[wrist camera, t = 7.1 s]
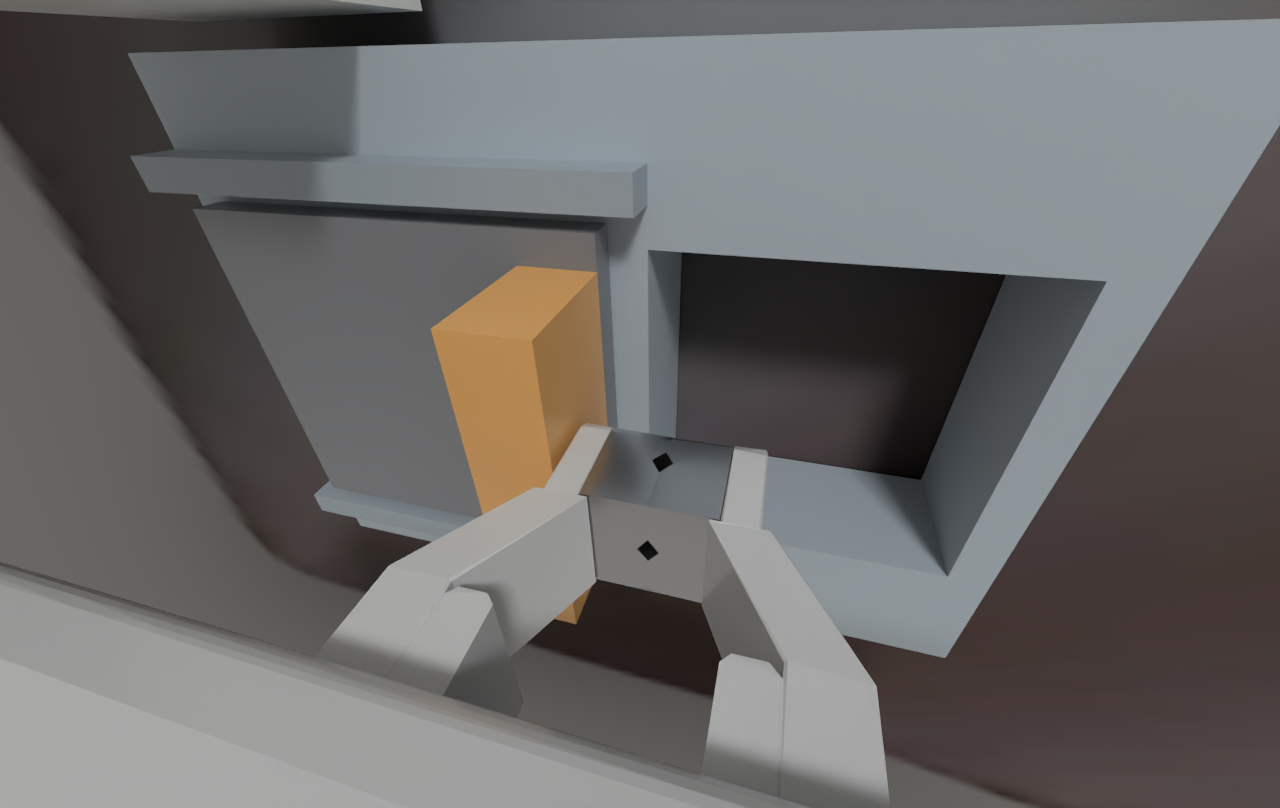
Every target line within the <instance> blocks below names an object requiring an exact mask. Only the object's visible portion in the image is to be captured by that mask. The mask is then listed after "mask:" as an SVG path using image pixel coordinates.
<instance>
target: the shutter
mask: <svg viewBox="0 0 1280 808" xmlns="http://www.w3.org/2000/svg"><path fill="white" fill-rule="evenodd" d="M193 211H194V213H195V215H196V217H197V219H198V221H199V223H200V225H201V227H202V229H203V231H204V233H205V235H206V237H207V239H208V241H209V243H210V245H211V247H212V249H213V251H214V253H215V255H216V257H217V259H218V261H219V263H220V265H221V267H222V269H223V271H224V273H225V275H226V277H227V278H228V280H229V282H230V284H231V286H232V288H233V290H234V292H235V294H236V296H237V298H238V300H239V302H240V304H241V306H242V308H243V310H244V312H245V314H246V316H247V318H248V320H249V322H250V324H251V326H252V328H253V330H254V332H255V334H256V336H257V338H258V340H259V342H260V344H261V346H262V348H263V350H264V352H265V354H266V356H267V358H268V360H269V362H270V363H271V365H272V367H273V369H274V371H275V373H276V375H277V377H278V379H279V381H280V383H281V385H282V387H283V389H284V391H285V393H286V395H287V397H288V399H289V401H290V403H291V405H292V407H293V409H294V411H295V413H296V415H297V417H298V419H299V421H300V423H301V425H302V427H303V429H304V431H305V433H306V435H307V437H308V439H309V441H310V443H311V445H312V447H313V449H314V450H315V452H316V454H317V456H318V458H319V460H320V462H321V464H322V466H323V468H324V470H325V472H326V474H327V476H328V478H329V480H330V482H331V484H332V486H333V487H334V488H339V489H344V490H349V491H354V492H358V493H363V494H368V495H373V496H377V497H382V498H387V499H392V500H397V501H401V502H406V503H411V504H416V505H420V506H425V507H430V508H435V509H440V510H444V511H449V512H454V513H459V514H463V515H468V516H473V517H480V516H481V515H483V514H485V513H487V512H489V511H491V510H493V509H494V508H496V507H498V506H500V505H502V504H504V503H506V502H507V501H509V500H511V499H513V498H515V497H517V496H518V495H520V494H522V493H524V492H526V491H528V490H530V489H531V488H533V487H538V488H544V486H545V484H546V483H547V481H548V479H549V478H550V476H551V475H552V473H553V471H554V470H555V468H556V466H557V465H558V463H559V461H560V460H561V458H562V456H563V455H564V453H565V451H566V450H567V448H568V446H569V445H570V443H571V441H572V440H573V438H574V436H575V435H576V433H577V431H578V430H579V428H580V427H581V426H583V425H584V424H586V423H590V424H595V425H601V426H607V427H612V428H618V423H617V404H616V385H615V365H614V346H613V327H612V308H611V289H610V270H609V251H608V232H607V223H592V222H575V221H557V220H540V219H522V218H505V217H487V216H470V215H453V214H435V213H418V212H400V211H383V210H365V209H348V208H331V207H313V206H296V205H278V204H261V203H244V202H226V201H221V202H217V203H213V204H209V205H205V206H201V207H197V208H193ZM590 589H591V587H590V588H589V589H588V590H586V591H585V592H584V593H583V594H582V595H581V596H580V597H578V598H577V599H576V600H575V601H574V602H573V603H572V604H570V605H569V606H568V607H567V608H566V609H565V610H564V611H562V612H561V613H560V614H559V615H558V616H557V617H556V618H555V619H557V620H561V621H565V622H569V623H573V624H577V621H578V619H579V616H580V614H581V611H582V609H583V606H584V604H585V601H586V599H587V596H588V594H589V591H590Z"/></svg>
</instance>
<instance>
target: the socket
mask: <svg viewBox="0 0 1280 808" xmlns="http://www.w3.org/2000/svg"><path fill="white" fill-rule="evenodd" d="M128 55H129V57H130V59H131V61H132V63H133V65H134V67H135V69H136V72H137V74H138V76H139V78H140V80H141V82H142V84H143V86H144V88H145V90H146V92H147V94H148V96H149V98H150V100H151V102H152V104H153V106H154V108H155V110H156V112H157V114H158V116H159V118H160V120H161V122H162V124H163V126H164V128H165V130H166V132H167V134H168V136H169V138H170V141H171V143H172V145H173V147H174V150H168V151H161V152H154V153H147V154H140V155H134V156H130V157H131V159H132V161H133V163H134V165H135V166H136V168H137V170H138V172H139V174H140V176H141V177H142V179H143V181H144V183H145V185H146V187H147V189H148V190H149V192H159V193H178V194H196V195H198V197H199V199H200V201H201V203H202V205H203V206H205V205H209V204H213V203H217V202H221V201H226V202H244V203H261V204H278V205H296V206H313V207H331V208H348V209H365V210H383V211H400V212H418V213H435V214H453V215H470V216H487V217H505V218H522V219H540V220H557V221H575V222H592V223H607V232H608V251H609V270H610V289H611V308H612V327H613V346H614V365H615V385H616V404H617V423H618V428H621V429H627V430H632V431H638V432H644V433H649V434H655V435H661V436H666V437H672V438H676V414H677V383H678V351H679V319H680V288H681V256H682V252H686V253H701V254H715V255H730V256H744V257H759V258H773V259H788V260H803V261H817V262H832V263H846V264H861V265H875V266H890V267H905V268H919V269H934V270H948V271H963V272H978V273H992V274H1006V276H1005V279H1004V281H1003V284H1002V286H1001V288H1000V291H999V293H998V296H997V298H996V300H995V303H994V305H993V308H992V310H991V312H990V315H989V317H988V320H987V322H986V324H985V327H984V329H983V332H982V334H981V337H980V339H979V341H978V344H977V346H976V349H975V351H974V353H973V356H972V358H971V361H970V363H969V365H968V368H967V370H966V373H965V375H964V377H963V380H962V382H961V385H960V387H959V389H958V392H957V394H956V397H955V399H954V401H953V404H952V406H951V409H950V411H949V414H948V416H947V418H946V421H945V423H944V426H943V428H942V430H941V433H940V435H939V438H938V440H937V442H936V445H935V447H934V450H933V452H932V454H931V457H930V459H929V462H928V464H927V466H926V469H925V471H924V474H923V476H922V479H921V480H918V479H911V478H905V477H899V476H892V475H886V474H879V473H873V472H866V471H860V470H854V469H847V468H841V467H834V466H828V465H821V464H815V463H809V462H802V461H796V460H789V459H783V458H776V457H770V456H768V462H767V474H766V485H765V496H764V507H763V519H762V530H767V531H772V532H773V534H774V535H775V537H776V538H777V540H778V541H779V543H780V544H781V545H782V547H783V548H784V550H785V551H786V553H787V554H788V556H789V557H790V559H791V560H792V562H793V563H794V565H795V566H796V568H797V569H798V571H799V572H800V574H801V575H802V577H803V578H804V580H805V581H806V583H807V584H808V585H809V587H810V588H811V590H812V591H813V593H814V594H815V596H816V597H817V599H818V600H819V602H820V603H821V605H822V606H823V608H824V609H825V611H826V612H827V614H828V615H829V617H830V618H831V620H832V621H833V623H834V624H835V626H836V627H837V628H838V630H839V631H840V633H841V634H842V635H846V636H850V637H855V638H859V639H864V640H868V641H872V642H877V643H881V644H886V645H890V646H894V647H899V648H903V649H908V650H912V651H916V652H921V653H925V654H930V655H934V656H939V657H943V658H946V656H947V654H948V653H949V651H950V650H951V648H952V646H953V645H954V643H955V642H956V640H957V638H958V637H959V635H960V634H961V632H962V630H963V629H964V627H965V626H966V624H967V623H968V621H969V619H970V618H971V616H972V615H973V613H974V611H975V610H976V608H977V607H978V605H979V603H980V602H981V600H982V599H983V597H984V595H985V594H986V592H987V591H988V589H989V587H990V586H991V584H992V583H993V581H994V579H995V578H996V576H997V575H998V573H999V572H1000V570H1001V568H1002V567H1003V565H1004V564H1005V562H1006V560H1007V559H1008V557H1009V556H1010V554H1011V552H1012V551H1013V549H1014V548H1015V546H1016V544H1017V543H1018V541H1019V540H1020V538H1021V536H1022V535H1023V533H1024V532H1025V530H1026V528H1027V527H1028V525H1029V524H1030V522H1031V521H1032V519H1033V517H1034V516H1035V514H1036V513H1037V511H1038V509H1039V508H1040V506H1041V505H1042V503H1043V501H1044V500H1045V498H1046V497H1047V495H1048V493H1049V492H1050V490H1051V489H1052V487H1053V485H1054V484H1055V482H1056V481H1057V479H1058V477H1059V476H1060V474H1061V473H1062V471H1063V470H1064V468H1065V466H1066V465H1067V463H1068V462H1069V460H1070V458H1071V457H1072V455H1073V454H1074V452H1075V450H1076V449H1077V447H1078V446H1079V444H1080V442H1081V441H1082V439H1083V438H1084V436H1085V434H1086V433H1087V431H1088V430H1089V428H1090V426H1091V425H1092V423H1093V422H1094V420H1095V419H1096V417H1097V415H1098V414H1099V412H1100V411H1101V409H1102V407H1103V406H1104V404H1105V403H1106V401H1107V399H1108V398H1109V396H1110V395H1111V393H1112V391H1113V390H1114V388H1115V387H1116V385H1117V383H1118V382H1119V380H1120V379H1121V377H1122V375H1123V374H1124V372H1125V371H1126V369H1127V368H1128V366H1129V364H1130V363H1131V361H1132V360H1133V358H1134V356H1135V355H1136V353H1137V352H1138V350H1139V348H1140V347H1141V345H1142V344H1143V342H1144V340H1145V339H1146V337H1147V336H1148V334H1149V332H1150V331H1151V329H1152V328H1153V326H1154V324H1155V323H1156V321H1157V320H1158V318H1159V317H1160V315H1161V313H1162V312H1163V310H1164V309H1165V307H1166V305H1167V304H1168V302H1169V301H1170V299H1171V297H1172V296H1173V294H1174V293H1175V291H1176V289H1177V288H1178V286H1179V285H1180V283H1181V281H1182V280H1183V278H1184V277H1185V275H1186V273H1187V272H1188V270H1189V269H1190V267H1191V266H1192V264H1193V262H1194V261H1195V259H1196V258H1197V256H1198V254H1199V253H1200V251H1201V250H1202V248H1203V246H1204V245H1205V243H1206V242H1207V240H1208V238H1209V237H1210V235H1211V234H1212V232H1213V230H1214V229H1215V227H1216V226H1217V224H1218V222H1219V221H1220V219H1221V218H1222V216H1223V215H1224V213H1225V211H1226V210H1227V208H1228V207H1229V205H1230V203H1231V202H1232V200H1233V199H1234V197H1235V195H1236V194H1237V192H1238V191H1239V189H1240V187H1241V186H1242V184H1243V183H1244V181H1245V179H1246V178H1247V176H1248V175H1249V173H1250V171H1251V170H1252V168H1253V167H1254V165H1255V164H1256V162H1257V160H1258V159H1259V157H1260V156H1261V154H1262V152H1263V151H1264V149H1265V148H1266V146H1267V144H1268V143H1269V141H1270V140H1271V138H1272V136H1273V135H1274V133H1275V132H1276V130H1277V128H1278V127H1279V125H1280V19H1256V20H1222V21H1189V22H1155V23H1122V24H1088V25H1055V26H1021V27H988V28H954V29H921V30H887V31H853V32H820V33H786V34H753V35H719V36H686V37H652V38H619V39H585V40H552V41H518V42H485V43H451V44H418V45H384V46H351V47H317V48H283V49H250V50H216V51H183V52H149V53H128ZM314 496H315V498H316V500H317V502H318V504H319V505H320V507H321V509H322V510H323V511H328V512H332V513H337V514H341V515H346V516H350V517H355V518H357V520H358V522H359V524H360V526H365V527H369V528H374V529H378V530H382V531H387V532H391V533H396V534H400V535H405V536H409V537H413V538H418V539H422V540H427V541H431V542H433V541H435V540H437V539H439V538H441V537H443V536H444V535H446V534H448V533H450V532H452V531H454V530H456V529H457V528H459V527H461V526H463V525H465V524H467V523H469V522H470V521H472V520H474V519H476V518H478V517H473V516H468V515H463V514H459V513H454V512H449V511H444V510H440V509H435V508H430V507H425V506H420V505H416V504H411V503H406V502H401V501H397V500H392V499H387V498H382V497H377V496H373V495H368V494H363V493H358V492H354V491H349V490H344V489H339V488H334V487H333V486H332V484H331V482H330V481H329V482H328V483H327V484H325V485H324V486H323V487H322V488H321V489H320V490H319V491H318V492H317V493H315V494H314ZM599 580H601V579H599ZM603 581H606V580H603ZM608 582H611V581H608ZM612 583H616V582H612ZM616 584H621V583H616ZM621 585H625V586H630V587H634V588H638V589H643V590H647V591H652V592H656V593H661V594H665V595H669V596H674V595H671V594H667V593H663V592H659V591H655V590H651V589H647V588H641V587H636V586H631V585H626V584H621ZM674 597H678V596H674ZM678 598H682V597H678ZM683 599H686V598H683ZM687 600H690V599H687ZM691 601H694V600H691ZM696 602H698V601H696ZM700 603H702V602H700Z"/></svg>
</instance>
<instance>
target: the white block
mask: <svg viewBox="0 0 1280 808" xmlns="http://www.w3.org/2000/svg"><path fill="white" fill-rule="evenodd" d="M0 10H1V11H18V12H36V13H53V14H71V15H88V16H106V17H123V18H141V19H158V20H176V21H193V22H199V21H221V20H242V19H263V18H284V17H306V16H327V15H348V14H369V13H391V12H412V11H422V7H421V2H420V0H0Z"/></svg>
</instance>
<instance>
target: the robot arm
mask: <svg viewBox="0 0 1280 808" xmlns="http://www.w3.org/2000/svg"><path fill="white" fill-rule="evenodd" d="M767 462H768V453H767V451H766V450H761V449H753V448H745V447H738V446H735V448H734V447H731V446H725V445H718V444H711V443H704V442H698V441H691V440H684V439H677V438H672V437H666V436H661V435H655V434H649V433H644V432H638V431H632V430H627V429H621V428H612V427H607V426H601V425H595V424H590V423H586V424H584V425H583V426H581V427H580V428H579V430H578V431H577V433H576V435H575V436H574V438H573V440H572V441H571V443H570V445H569V446H568V448H567V450H566V451H565V453H564V455H563V456H562V458H561V460H560V461H559V463H558V465H557V466H556V468H555V470H554V471H553V473H552V475H551V476H550V478H549V479H548V481H547V483H546V484H545V486H544V488H538V487H533V488H531V489H530V490H528V491H526V492H524V493H522V494H520V495H518V496H517V497H515V498H513V499H511V500H509V501H507V502H506V503H504V504H502V505H500V506H498V507H496V508H494V509H493V510H491V511H489V512H487V513H485V514H483V515H481V516H480V517H478V518H476V519H474V520H472V521H470V522H469V523H467V524H465V525H463V526H461V527H459V528H457V529H456V530H454V531H452V532H450V533H448V534H446V535H444V536H443V537H441V538H439V539H437V540H435V541H433V542H432V543H430V544H428V545H426V546H424V547H422V548H420V549H419V550H417V551H415V552H413V553H411V554H409V555H407V556H406V557H404V558H402V559H400V560H398V561H396V562H395V563H393V564H391V565H389V566H388V567H387V568H386V570H385V571H384V572H383V573H382V574H381V576H380V577H379V578H378V579H377V581H376V582H375V583H374V584H373V585H372V587H371V588H370V589H369V590H368V592H367V593H366V594H365V595H364V596H363V598H362V599H361V600H360V601H359V603H358V604H357V605H356V606H355V608H354V609H353V610H352V611H351V613H350V614H349V615H348V616H347V617H346V619H345V620H344V621H343V622H342V624H341V625H340V626H339V627H338V628H337V630H336V631H335V632H334V633H333V635H332V636H331V637H330V638H329V639H328V641H327V642H326V643H325V645H324V646H323V647H322V648H321V649H320V650H319V652H318V653H317V654H316V655H315V656H311V655H308V654H305V653H301V652H298V651H295V650H291V649H288V648H285V647H281V646H278V645H275V644H272V643H268V642H265V641H261V640H258V639H255V638H252V637H249V636H245V635H242V634H238V633H235V632H232V631H229V630H225V629H222V628H219V627H216V626H212V625H209V624H206V623H202V622H199V621H196V620H192V619H189V618H186V617H183V616H179V615H176V614H173V613H169V612H166V611H163V610H159V609H156V608H153V607H150V606H146V605H143V604H140V603H136V602H133V601H130V600H126V599H123V598H120V597H117V596H113V595H110V594H107V593H104V592H100V591H97V590H94V589H90V588H87V587H84V586H80V585H77V584H74V583H70V582H67V581H64V580H61V579H57V578H54V577H50V576H47V575H44V574H40V573H37V572H34V571H31V570H27V569H24V568H21V567H18V566H15V565H11V564H8V563H5V562H1V561H0V808H890V801H889V792H888V784H887V775H886V766H885V757H884V748H883V739H882V730H881V722H880V713H879V704H878V695H877V686H876V685H875V683H874V682H873V680H872V679H871V677H870V676H869V674H868V673H867V671H866V670H865V668H864V667H863V666H862V664H861V663H860V661H859V660H858V658H857V657H856V655H855V654H854V652H853V651H852V649H851V648H850V646H849V645H848V643H847V642H846V640H845V639H844V637H843V636H842V634H841V633H840V631H839V630H838V628H837V627H836V626H835V624H834V623H833V621H832V620H831V618H830V617H829V615H828V614H827V612H826V611H825V609H824V608H823V606H822V605H821V603H820V602H819V600H818V599H817V597H816V596H815V594H814V593H813V591H812V590H811V588H810V587H809V585H808V584H807V583H806V581H805V580H804V578H803V577H802V575H801V574H800V572H799V571H798V569H797V568H796V566H795V565H794V563H793V562H792V560H791V559H790V557H789V556H788V554H787V553H786V551H785V550H784V548H783V547H782V545H781V544H780V543H779V541H778V540H777V538H776V537H775V535H774V534H773V532H772V531H767V530H762V519H763V507H764V496H765V485H766V474H767ZM596 579H601V580H606V581H611V582H616V583H621V584H626V585H631V586H636V587H641V588H647V589H651V590H655V591H659V592H663V593H667V594H671V595H674V596H678V597H682V598H686V599H690V600H694V601H698V602H702V608H703V610H704V613H705V616H706V618H707V621H708V624H709V626H710V629H711V631H712V634H713V637H714V639H715V642H716V645H717V647H718V650H719V653H720V655H721V658H722V660H721V661H720V662H719V667H718V673H717V679H716V686H715V692H714V699H713V705H712V712H711V718H710V724H709V730H708V737H707V743H706V750H705V756H704V763H703V769H702V774H700V773H696V772H693V771H690V770H687V769H683V768H680V767H676V766H673V765H670V764H667V763H663V762H660V761H657V760H654V759H650V758H647V757H644V756H640V755H637V754H634V753H630V752H627V751H624V750H620V749H617V748H614V747H611V746H607V745H604V744H600V743H597V742H594V741H591V740H588V739H584V738H581V737H578V736H575V735H571V734H568V733H564V732H562V731H558V730H555V729H551V728H548V727H545V726H542V725H538V724H535V723H531V722H528V721H525V720H522V719H519V718H517V715H518V713H519V711H520V708H521V706H522V704H523V699H522V696H521V692H520V689H519V686H518V683H517V680H516V677H515V673H514V670H513V667H512V664H511V661H510V657H511V656H512V655H514V654H515V653H516V652H517V651H518V650H519V649H520V648H522V647H523V646H524V645H525V644H526V643H527V642H528V641H529V640H531V639H532V638H533V637H534V636H535V635H536V634H537V633H539V632H540V631H541V630H542V629H543V628H544V627H545V626H547V625H548V624H549V623H550V622H551V621H552V620H553V619H555V618H556V617H557V616H558V615H559V614H560V613H561V612H562V611H564V610H565V609H566V608H567V607H568V606H569V605H570V604H572V603H573V602H574V601H575V600H576V599H577V598H578V597H580V596H581V595H582V594H583V593H584V592H585V591H586V590H588V589H589V588H590V587H591V586H592V585H593V584H594V583H595V582H596Z"/></svg>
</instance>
